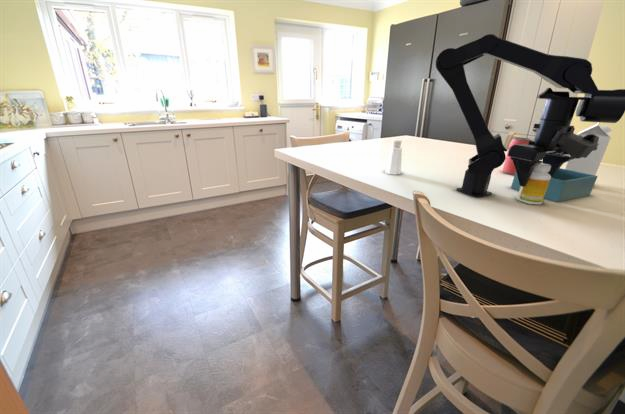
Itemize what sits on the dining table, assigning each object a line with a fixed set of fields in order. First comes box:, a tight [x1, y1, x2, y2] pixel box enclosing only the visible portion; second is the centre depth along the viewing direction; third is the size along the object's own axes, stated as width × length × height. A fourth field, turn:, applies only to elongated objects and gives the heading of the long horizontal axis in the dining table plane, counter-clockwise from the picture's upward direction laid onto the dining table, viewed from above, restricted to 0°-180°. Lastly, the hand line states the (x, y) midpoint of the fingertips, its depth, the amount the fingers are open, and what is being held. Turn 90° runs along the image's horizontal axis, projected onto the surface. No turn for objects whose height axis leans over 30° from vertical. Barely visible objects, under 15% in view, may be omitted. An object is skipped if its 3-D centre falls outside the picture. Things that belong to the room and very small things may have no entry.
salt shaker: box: [384, 139, 403, 176], centre depth 95 cm, size 5×5×11 cm
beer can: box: [502, 136, 534, 176], centre depth 97 cm, size 7×7×12 cm
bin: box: [510, 167, 598, 203], centre depth 80 cm, size 15×12×6 cm
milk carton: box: [564, 122, 613, 176], centre depth 85 cm, size 7×7×19 cm
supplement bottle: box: [516, 162, 551, 205], centre depth 71 cm, size 5×5×10 cm
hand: (534, 184), depth 72 cm, fingers open, 9 cm apart
